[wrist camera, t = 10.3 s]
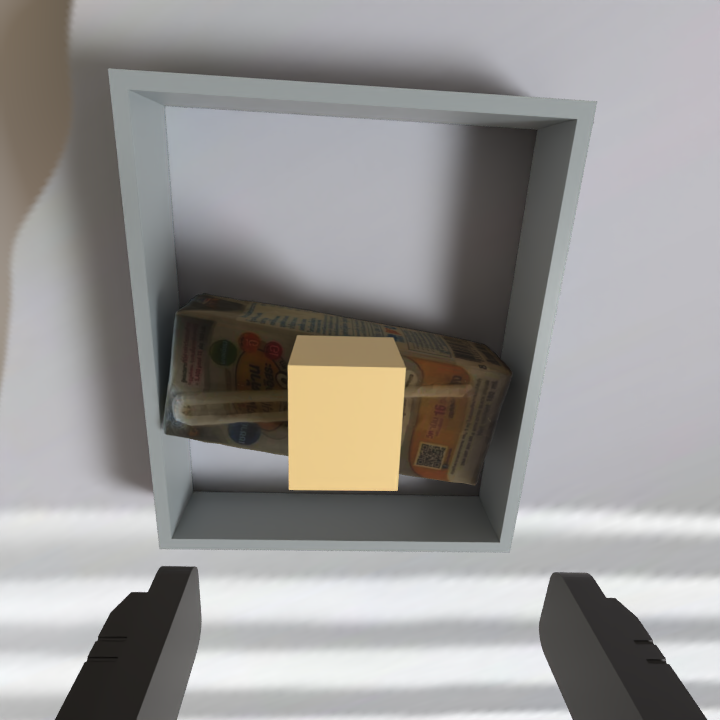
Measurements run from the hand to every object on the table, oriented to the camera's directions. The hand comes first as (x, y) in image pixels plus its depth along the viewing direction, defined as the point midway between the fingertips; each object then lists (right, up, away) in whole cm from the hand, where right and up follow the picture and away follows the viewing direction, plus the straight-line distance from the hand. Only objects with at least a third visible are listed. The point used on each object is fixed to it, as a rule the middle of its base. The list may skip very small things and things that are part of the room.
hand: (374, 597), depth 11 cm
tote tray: (-1, +7, +21) cm, 22 cm away
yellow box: (-1, +4, +15) cm, 16 cm away
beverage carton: (-2, +5, +22) cm, 23 cm away
